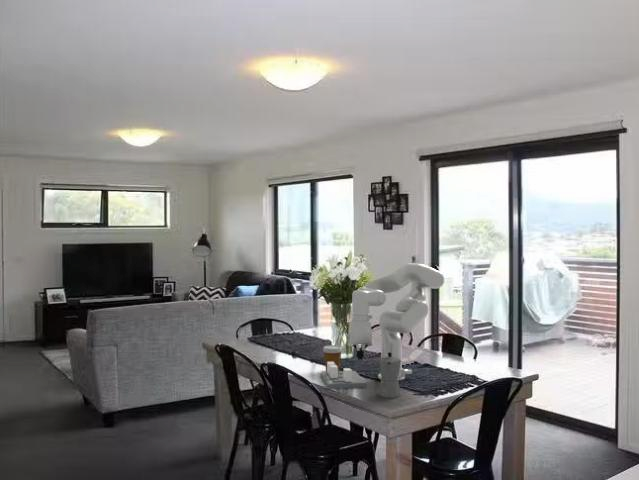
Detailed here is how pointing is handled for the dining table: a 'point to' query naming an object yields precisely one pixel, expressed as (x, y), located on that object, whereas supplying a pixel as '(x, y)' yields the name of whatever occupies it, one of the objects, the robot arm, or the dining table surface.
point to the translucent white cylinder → (411, 357)
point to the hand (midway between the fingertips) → (360, 359)
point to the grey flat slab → (342, 381)
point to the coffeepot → (389, 376)
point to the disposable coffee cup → (332, 355)
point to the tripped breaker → (347, 374)
